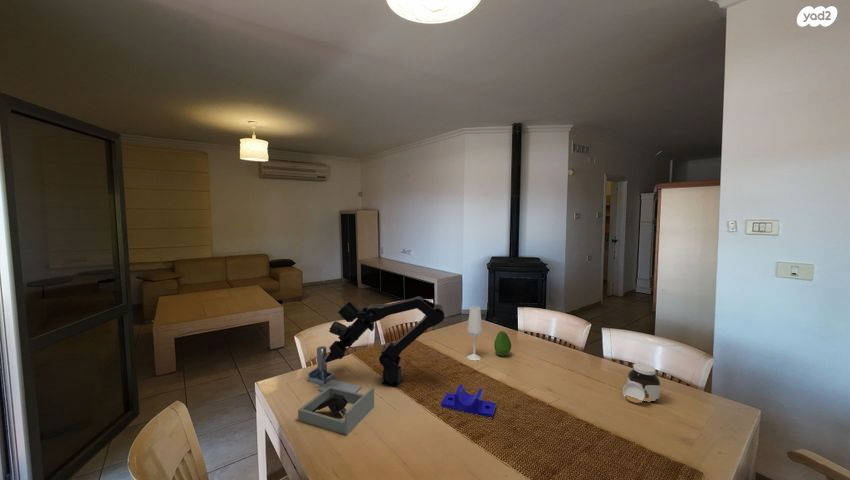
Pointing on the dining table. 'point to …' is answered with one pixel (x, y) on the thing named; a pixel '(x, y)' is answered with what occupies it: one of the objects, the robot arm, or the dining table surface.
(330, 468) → the dining table surface
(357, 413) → the case
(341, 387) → the mat
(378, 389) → the dining table surface
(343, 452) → the dining table surface
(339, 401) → the power plug
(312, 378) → the blue gray open box
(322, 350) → the dark gray cup
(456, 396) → the mounting bracket
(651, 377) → the spread jar
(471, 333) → the champagne flute
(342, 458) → the dining table surface
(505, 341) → the avocado
